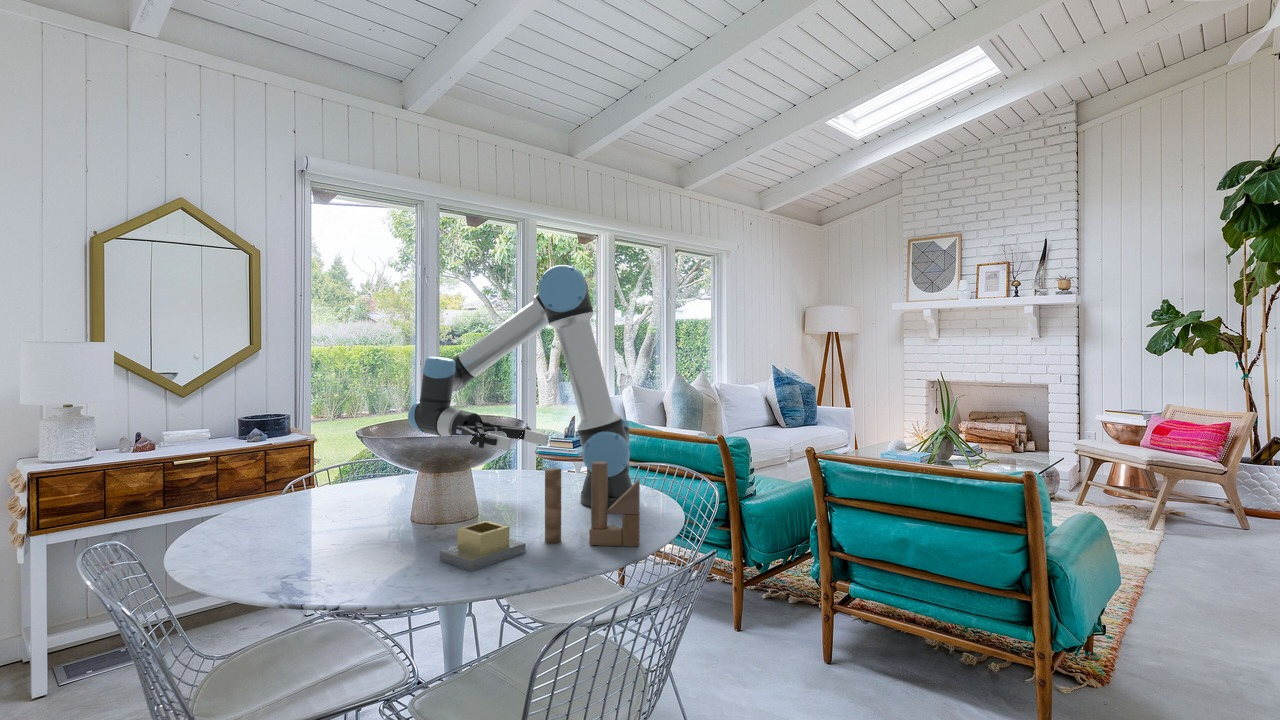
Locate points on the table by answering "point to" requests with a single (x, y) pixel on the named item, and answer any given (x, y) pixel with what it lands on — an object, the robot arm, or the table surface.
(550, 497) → the wooden cylinder
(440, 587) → the table surface
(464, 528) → the yellow socket on base
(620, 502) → the wooden block stack
